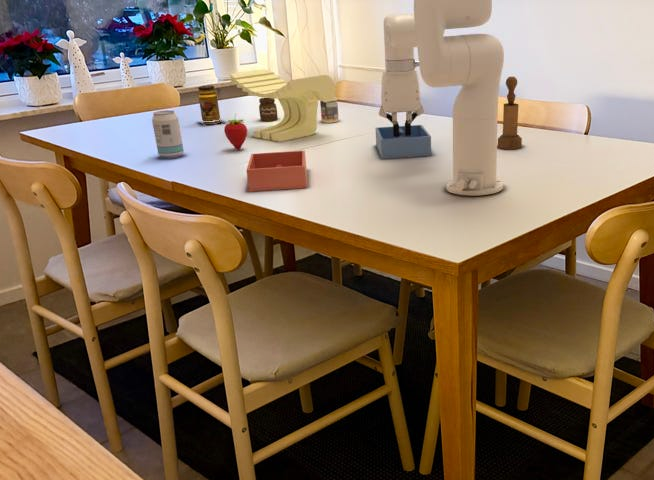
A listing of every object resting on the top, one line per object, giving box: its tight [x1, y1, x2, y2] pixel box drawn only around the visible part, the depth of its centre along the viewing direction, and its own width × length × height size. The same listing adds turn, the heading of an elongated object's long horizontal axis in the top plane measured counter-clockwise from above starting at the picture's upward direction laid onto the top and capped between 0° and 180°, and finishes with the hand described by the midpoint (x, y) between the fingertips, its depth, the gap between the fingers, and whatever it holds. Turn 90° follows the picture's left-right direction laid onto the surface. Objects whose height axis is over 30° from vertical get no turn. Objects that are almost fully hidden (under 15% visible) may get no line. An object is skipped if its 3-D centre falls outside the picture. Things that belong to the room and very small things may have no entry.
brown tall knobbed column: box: [497, 76, 523, 150], centre depth 197 cm, size 7×6×18 cm
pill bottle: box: [319, 96, 339, 124], centre depth 244 cm, size 6×6×10 cm
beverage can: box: [151, 110, 185, 160], centre depth 204 cm, size 7×7×12 cm
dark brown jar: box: [258, 97, 279, 122], centre depth 251 cm, size 6×6×12 cm
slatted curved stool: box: [229, 68, 336, 143], centre depth 225 cm, size 30×16×18 cm, turn 45°
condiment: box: [198, 85, 222, 125], centre depth 250 cm, size 7×8×12 cm
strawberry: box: [223, 114, 248, 151], centre depth 210 cm, size 6×8×10 cm
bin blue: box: [375, 124, 432, 160], centre depth 201 cm, size 17×13×5 cm
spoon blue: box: [396, 128, 411, 138], centre depth 201 cm, size 14×4×2 cm, turn 6°
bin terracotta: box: [246, 150, 308, 192], centre depth 177 cm, size 17×13×5 cm
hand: (402, 138), depth 201 cm, fingers closed on spoon blue, 2 cm apart
